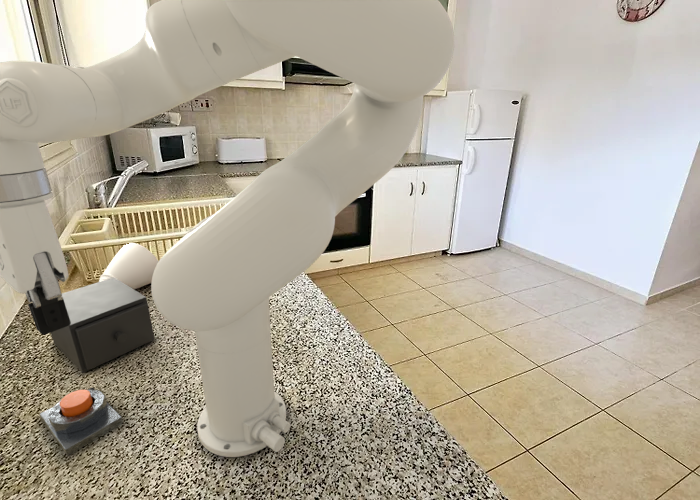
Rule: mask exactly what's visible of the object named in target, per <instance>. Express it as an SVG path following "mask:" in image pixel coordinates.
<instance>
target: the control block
mask: <svg viewBox="0 0 700 500" xmlns="http://www.w3.org/2000/svg"><path fill="white" fill-rule="evenodd" d="M87 390H88V391H89V392H90V394H91V397H92V401H93V404H92V406H91V407H90V408H89V409H88V410H87V411H85V412H84V413H82V414H80V415H77V416H73V417H65V416H64V415H63V413H62V410H61V407H60V401H61V400H59V401H58V402H57V403H56V404H55V405H53V406H51V407H50V408H48V409H46V410H44V411H42V412H40V413H39V416H40V419H41V422H43V424H44V425H45V427H46V428H47V429H48V431H49V433H50V434H51V435H52V436H53V438H54V439H55V441H56V442H57V444H58V445H59V446H60V448H61V449H62V450H63V452H64V454H65V455H66V457H68V456H70V455H72V454H74V453H75V452H77V451H79V450H80V449H82V448H83V447H86V446H87V445H89V444H90V443H92V442H94V441H96V440H98V438H101V437H102V436H104V435H107V433H109V432H110V431H113V430H114V429H116V428H117V427H119V426H121V425H122V424H123V423H124V421H123V417H122V416H121V415H120V413H118V411H117V410H115V409H114V408H113V406H111V404H110V403H109V402H107V400H106V399H107V398H106V395H105V394H104V393H103V392H102V391H101V390H98V389H95V388H94V386H93V387H90V388H88V389H87Z"/></svg>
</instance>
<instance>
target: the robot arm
mask: <svg viewBox="0 0 700 500" xmlns="http://www.w3.org/2000/svg"><path fill="white" fill-rule="evenodd" d="M454 51H455V31H454V29H453V24H452V21H451V19H450V16H449V13H448V12H447V10H446V9H445V6H443V5H442V3H441V2H440V0H159V1H156V2H154V3H153V4H151V5H150V6H149V7H148V9H147V10H146V14H145V32H144V34H143V36H142V38H141V39H140V40H139V41H138V42H137V43H136V44H135V45H133V46H132V47H130V48H129V49H127V50H125V51H124V52H121V53H119V54H117V55H115V56H113V57H111V58H107V59H106V60H102V61H100V62H98V63H95V64H93V65H90V66H86V67H78V66H72V65H66V64H59V63H49V62H42V61H36V60H9V61H1V62H0V278H1V279H2V280H3V281H4V282H5V283H6V284H7V285H8V286H9V287H11V289H13V290H14V291H15V292H17V293H18V294H22V295H24V294H25V297H26V299H27V301H28V304H27V305H28V308H29V311H30V314H31V317H32V319H33V323H34V325H35V328H36V330H37V331H38V332H39V333H40V334H41V335H43V336H44V335H48V334H51V332H54V331H56V330H59V329H62V328H64V327H67V326H69V325H70V324H71V322H70V318H69V315H68V312H67V309H66V306H65V303H64V299H63V297H62V290H61V286H60V283H59V281H60V282H63V283H65V282H66V281H67V280H68V279H69V270H68V266H67V261H66V258H65V255H64V252H63V249H62V246H61V242H60V240H59V237H58V234H57V230H56V227H55V225H54V222H53V218H52V216H51V214H50V211H49V209H48V206H47V203H46V200H50V199H52V198H53V197H54V193H53V189H52V186H51V182H50V180H49V176H48V173H47V169H46V167H45V163H44V160H43V156H42V153H41V149H40V145H39V144H51V143H52V144H53V143H62V142H68V141H69V142H70V141H75V140H81V139H87V138H95V137H97V138H98V137H103V136H107V135H111V134H114V133H117V132H120V131H123V130H126V129H128V128H131V127H133V126H135V125H138V124H140V123H143V122H145V121H149V120H150V119H153V118H156V117H157V116H160V115H163V114H165V113H167V112H168V111H170V110H172V109H175V108H176V107H178V106H180V105H183V104H185V103H188V102H190V101H192V100H194V99H195V98H198V97H199V96H201V95H204V94H206V93H207V92H210V91H212V90H215V89H217V88H220V87H223V86H224V85H225V86H226V85H227V84H229V83H231V82H234V81H236V80H240V79H241V78H245V77H247V76H249V75H251V74H254V73H256V72H259V71H262V70H264V69H267V68H269V67H272V66H274V65H277V64H279V63H282V62H285V61H287V60H289V59H292V58H294V57H298V58H299V59H301V60H303V61H305V62H307V63H310V64H312V65H313V66H316V67H318V68H320V69H322V70H324V71H326V72H329V73H331V74H333V75H335V76H337V77H339V78H341V79H344V80H346V81H348V82H350V83H353V86H354V87H353V90H352V94H351V97H350V98H349V101H348V102H347V103H346V105H345V106H344V108H343V109H342V110H341V111H340V112H339V113H338V114H336V115H335V116H334V117H333V118H332V119H331V120H330V121H328V122H327V123H325V125H323V126H322V128H320V129H319V130H318V131H317V132H316V133H315V134H314V135H313V136H311V137H310V138H309V139H308V140H306V141H305V142H304V143H303V144H301V145H300V146H299V147H298V148H296V149H294V151H292V152H291V153H290V154H288V155H287V156H286V157H284V158H283V159H281V160H280V161H278V162H276V163H275V164H273V165H271V166H269V167H267V168H266V169H265V170H263V171H262V172H260V174H258V176H257V177H255V179H253V180H252V181H251V182H250V183H249V184H248V185H247V186H246V187H244V188H243V189H242V190H241V191H240V192H239V193H238V194H236V195H235V196H234V197H233V198H232V199H230V200H229V201H228V202H227V203H226V204H224V205H223V206H222V207H221V208H220V209H218V210H217V211H216V212H215V213H213V214H210V215H208V216H206V217H205V218H203V219H202V220H200V221H199V222H198V223H196V224H195V225H194V226H193V227H192V228H191V229H190V230H188V231H187V232H186V233H185V234H184V235H183V236H182V237H181V238H180V239H179V240H178V241H177V242H176V243H174V244H173V245H172V246H171V247H170V248H169V249H167V250H166V252H165V253H164V254H163V255H162V256H161V257H160V259H158V261H159V262H158V264H157V265H156V267H155V270H154V273H153V276H152V282H151V283H150V284H151V285H150V287H151V288H150V291H151V297H152V301H153V303H154V305H155V307H156V309H157V311H158V312H159V314H160V315H161V316H162V317H163V318H164V319H165V321H167V322H168V323H169V324H171V325H173V326H174V327H177V328H179V329H182V330H186V331H191V332H194V334H195V343H196V349H197V356H198V363H199V370H200V375H201V384H202V389H203V396H204V403H205V407H204V408H203V410H202V411H201V413H200V415H199V417H198V420H197V424H196V428H197V435H198V440H199V441H200V443H201V445H202V446H203V447H204V448H205V449H206V450H207V451H209V452H210V453H211V454H214V455H217V456H219V457H225V458H226V457H227V458H239V457H244V456H245V457H246V456H249V455H253V454H255V453H257V452H259V451H261V450H263V449H264V448H266V447H268V448H269V449H271V450H272V451H274V452H275V453H278V452H279V451H281V450H282V448H283V447H284V445H285V443H286V438H285V437H284V436H283V435H281V433H284V434H286V433H288V432H289V431H290V429H291V426H292V424H291V423H290V422H289V421H287V406H286V404H285V403H286V402H285V400H284V399H283V398H282V397H281V395H280V394H279V393H277V392H276V391H275V380H274V377H275V376H274V365H273V350H272V349H273V347H272V334H271V333H272V332H271V331H272V330H271V313H270V311H271V310H270V297H272V296H273V295H274V294H276V293H277V292H279V291H280V290H281V289H283V288H284V287H285V286H286V285H288V284H290V283H291V282H293V281H294V280H295V279H297V278H298V277H299V276H301V274H303V273H304V272H306V271H307V270H308V269H309V268H310V267H311V266H312V265H313V264H314V263H315V262H316V261H317V260H318V259H319V258H321V256H322V255H323V253H324V252H325V251H326V249H327V247H329V244H330V242H331V240H332V237H333V234H334V231H335V226H336V225H335V224H336V217H337V216H338V215H339V213H341V212H342V211H344V209H346V207H348V206H349V205H351V204H352V203H353V202H355V201H356V200H357V199H358V198H360V197H361V196H362V195H363V194H364V193H365V192H366V191H368V190H369V189H370V188H372V187H373V186H374V185H375V184H376V183H377V182H379V181H380V180H381V179H383V177H384V176H386V175H387V174H388V173H389V172H390V171H391V170H392V169H393V168H394V167H395V166H397V164H398V162H400V161H401V159H402V158H403V157H404V155H405V154H406V152H407V151H408V149H409V148H410V145H411V143H412V141H413V140H414V137H415V135H416V132H417V130H418V127H419V123H420V121H421V116H422V111H423V106H424V96H425V95H427V94H429V93H431V91H433V90H434V89H435V88H436V87H437V86H438V85H439V84H440V83H441V82H442V80H443V79H444V77H445V76H446V73H447V72H448V71H449V68H450V65H451V63H452V60H453V56H454Z"/></svg>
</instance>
